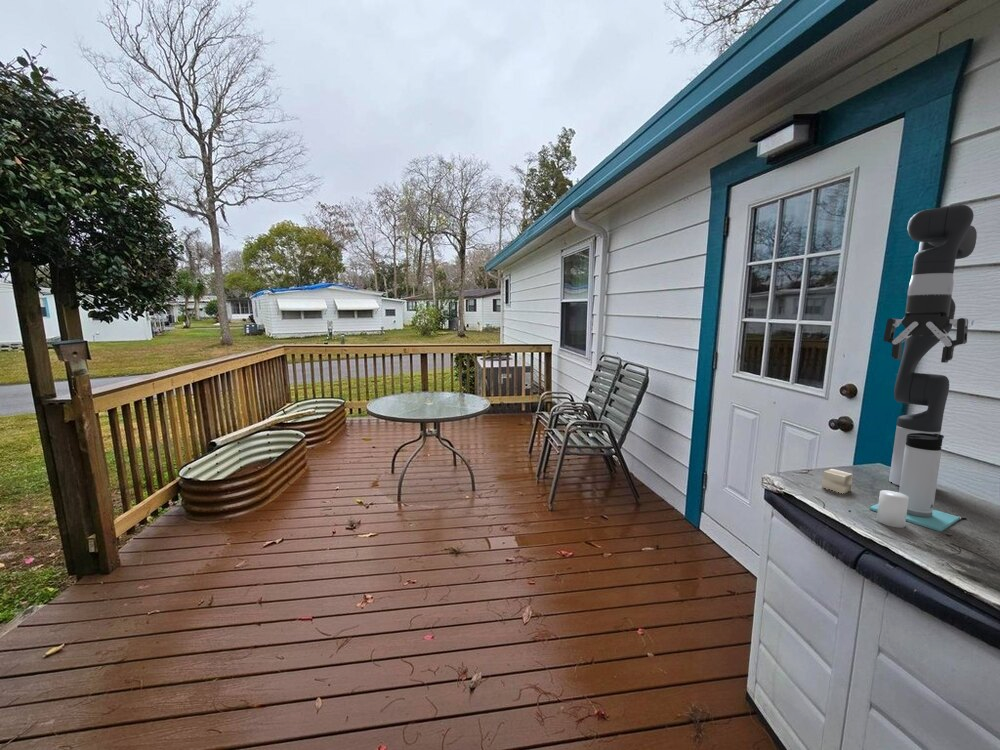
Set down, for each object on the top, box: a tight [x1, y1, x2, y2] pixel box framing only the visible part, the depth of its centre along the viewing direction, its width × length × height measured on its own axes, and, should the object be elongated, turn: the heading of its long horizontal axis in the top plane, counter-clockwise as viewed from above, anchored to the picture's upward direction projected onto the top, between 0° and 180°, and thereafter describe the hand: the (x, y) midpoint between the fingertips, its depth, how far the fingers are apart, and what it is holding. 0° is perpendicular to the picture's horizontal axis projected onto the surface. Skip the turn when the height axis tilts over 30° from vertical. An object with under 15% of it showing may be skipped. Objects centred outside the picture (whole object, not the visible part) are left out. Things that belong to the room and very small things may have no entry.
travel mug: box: [898, 433, 945, 517], centre depth 103 cm, size 6×7×20 cm
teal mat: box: [869, 503, 961, 533], centre depth 104 cm, size 13×13×1 cm
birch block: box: [821, 468, 854, 495], centre depth 120 cm, size 5×5×5 cm
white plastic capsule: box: [876, 489, 909, 529], centre depth 99 cm, size 5×5×7 cm
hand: (919, 361), depth 103 cm, fingers open, 8 cm apart
